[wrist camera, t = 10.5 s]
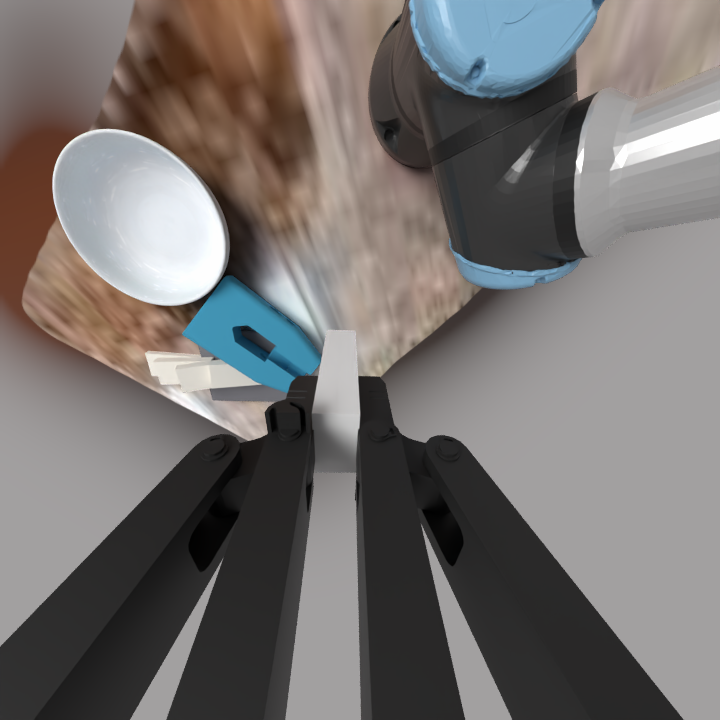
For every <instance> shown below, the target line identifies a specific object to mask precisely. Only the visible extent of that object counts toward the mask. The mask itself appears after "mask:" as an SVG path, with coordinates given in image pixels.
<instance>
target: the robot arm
mask: <svg viewBox="0 0 720 720" xmlns="http://www.w3.org/2000/svg"><path fill="white" fill-rule="evenodd" d="M604 1H605V0H405V4H404V8H403V11H402V14H401V15H399V17H398V18H397V19H396V20H395V21H394V22H393V23H392V25H391V26H390V27H389V29H388V30H387V32H386V34H385V35H384V37H383V39H382V41H381V43H380V45H379V47H378V50H377V53H376V55H375V58H374V62H373V66H372V71H371V76H370V82H369V93H368V101H369V112H370V118H371V122H372V126H373V129H374V131H375V134H376V136H377V138H378V140H379V142H380V144H381V145H382V147H383V148H384V149H385V150H386V152H387V153H388V154H389V155H390V156H391V157H393V158H394V159H395V160H397V161H398V162H400V163H402V164H404V165H407V166H410V167H416V168H424V167H430V166H432V170H433V174H434V178H435V182H436V186H437V190H438V194H439V197H440V201H441V205H442V209H443V213H444V217H445V221H446V225H447V229H448V233H449V236H450V239H449V246H450V249H451V250H452V253H453V254H454V256H455V259H456V262H457V266H458V269H459V271H460V273H461V274H462V276H463V277H464V278H465V279H466V280H467V281H469V282H470V283H472V284H474V285H477V286H480V287H484V288H491V289H521V288H527V287H533V286H534V285H535V283H549V282H552V281H554V280H557V279H559V278H561V277H563V276H565V275H567V274H568V273H570V272H571V271H573V270H574V269H575V268H576V267H577V266H578V264H579V262H580V260H581V259H582V258H585V257H594V256H598V255H600V254H601V253H603V252H604V251H605V250H606V249H607V248H608V247H609V246H611V245H612V244H613V243H614V242H615V241H617V240H618V239H619V238H620V237H622V236H624V235H625V234H627V233H629V232H634V231H640V230H646V229H653V228H659V227H665V226H671V225H678V224H684V223H690V222H696V221H703V220H709V219H714V218H720V65H719V66H717V67H714V68H712V69H710V70H707V71H705V72H703V73H700V74H698V75H696V76H694V77H691V78H689V79H687V80H684V81H682V82H680V83H677V84H675V85H673V86H670V87H668V88H666V89H663V90H661V91H659V92H656V93H654V94H652V95H649V96H647V97H642V98H634V97H632V96H630V95H628V94H626V93H623V92H621V91H619V90H617V89H615V88H613V87H609V88H605V89H603V90H600V91H599V92H597V93H595V94H593V95H591V96H589V97H587V98H584V99H582V100H580V101H578V97H577V93H575V92H577V70H576V51H577V49H578V48H579V47H580V45H581V44H582V43H583V42H584V40H585V38H586V36H587V35H588V33H589V32H590V30H591V29H592V27H593V25H594V24H595V22H596V18H597V12H598V10H599V8H600V6H601V4H602V3H603V2H604ZM574 93H575V94H574ZM572 94H573V95H572ZM486 138H487V139H486ZM484 139H485V140H484ZM482 140H483V141H482ZM480 141H481V142H480ZM478 142H479V143H478ZM453 155H454V156H453ZM265 417H266V424H267V430H268V434H267V435H265V436H263V437H261V438H258V439H255V440H251V441H247V442H243V443H239V441H238V440H237V439H236V437H234V436H231V435H226V434H220V435H216V436H211V437H209V438H207V439H205V440H203V441H201V442H200V443H199V444H197V445H196V446H195V447H194V448H193V449H192V450H191V451H190V452H189V453H188V454H187V455H186V456H185V457H184V458H183V459H182V460H181V461H180V462H179V463H178V464H177V465H176V466H175V467H174V468H173V470H172V471H170V472H169V474H168V475H167V476H166V477H165V478H164V479H163V480H162V481H161V482H160V483H159V484H158V485H157V486H156V487H155V488H154V489H153V490H152V491H151V492H150V493H149V494H148V495H147V496H146V497H145V498H144V499H143V500H142V501H141V502H140V503H139V504H138V505H137V507H135V509H134V510H133V511H132V512H131V513H130V514H129V515H128V516H127V517H126V518H125V519H124V520H123V521H122V522H121V523H120V524H119V525H118V526H117V527H116V528H115V529H114V530H113V531H112V532H111V533H110V534H109V535H108V536H107V537H106V538H105V540H103V542H102V543H101V544H100V545H99V546H98V547H97V548H96V549H95V550H94V551H93V552H92V553H91V554H90V555H89V556H88V557H87V558H86V559H85V560H84V561H83V562H82V563H81V564H80V565H79V566H78V567H77V568H76V569H75V570H74V571H73V572H72V573H71V574H70V576H68V578H67V579H66V580H65V581H64V582H63V583H62V584H61V585H60V586H59V587H58V588H57V589H56V590H55V591H54V592H53V593H52V594H51V595H50V596H49V597H48V598H47V599H46V600H45V601H44V602H43V603H42V604H41V605H40V606H39V607H38V608H37V609H36V611H35V612H34V613H33V614H32V615H31V616H30V617H29V618H28V619H27V620H26V621H25V622H24V623H23V624H22V625H21V626H20V627H19V628H18V629H17V630H16V631H15V632H14V633H13V634H12V635H11V636H10V637H9V638H8V639H7V640H6V641H5V642H4V643H3V644H2V645H1V647H0V720H130V719H131V717H132V715H133V713H134V712H135V710H136V708H137V706H138V705H139V703H140V701H141V699H142V697H143V696H144V694H145V692H146V690H147V689H148V687H149V685H150V684H151V682H152V680H153V679H154V677H155V675H156V673H157V672H158V670H159V668H160V666H161V665H162V663H163V661H164V659H165V658H166V656H167V654H168V653H169V651H170V649H171V647H172V646H173V644H174V642H175V640H176V639H177V637H178V635H179V633H180V632H181V630H182V628H183V626H184V625H185V623H186V621H187V619H188V618H189V616H190V614H191V613H192V611H193V609H194V607H195V606H196V604H197V602H198V600H199V599H200V597H201V595H202V593H203V592H204V590H205V588H206V587H207V585H208V583H209V581H210V580H211V578H212V576H213V574H214V573H215V571H216V569H217V567H218V566H219V564H220V562H221V561H222V559H223V561H222V564H221V567H220V570H219V572H218V575H217V578H216V581H215V584H214V587H213V590H212V593H211V595H210V598H209V601H208V604H207V606H206V609H205V612H204V615H203V618H202V621H201V623H200V626H199V629H198V632H197V635H196V638H195V641H194V643H193V646H192V649H191V652H190V655H189V657H188V660H187V663H186V666H185V668H184V672H183V674H182V677H181V680H180V683H179V686H178V688H177V691H176V694H175V697H174V700H173V702H172V705H171V708H170V711H169V714H168V717H167V720H285V716H286V708H287V700H288V692H289V683H290V675H291V667H292V658H293V651H294V643H295V634H296V626H297V618H298V610H299V601H300V593H301V585H302V577H303V569H304V560H305V552H306V544H307V536H308V528H309V520H310V512H311V503H312V495H313V487H314V486H313V473H314V470H315V472H356V475H357V476H356V493H355V500H356V515H357V558H358V601H359V643H360V686H361V720H465V717H464V713H463V708H462V704H461V699H460V695H459V690H458V687H457V682H456V677H455V673H454V668H453V664H452V660H451V656H450V651H449V647H448V642H447V638H446V633H445V628H444V624H443V620H442V615H441V611H440V606H439V602H438V598H437V593H436V589H435V584H434V580H433V575H432V571H431V567H430V563H429V558H428V554H427V549H426V545H425V540H424V536H423V531H422V527H421V524H422V526H423V528H424V531H425V533H426V535H427V537H428V539H429V541H430V543H431V546H432V548H433V550H434V552H435V554H436V556H437V558H438V561H439V563H440V565H441V567H442V569H443V571H444V574H445V576H446V578H447V580H448V582H449V584H450V586H451V589H452V591H453V593H454V595H455V597H456V599H457V601H458V603H459V606H460V608H461V610H462V612H463V614H464V616H465V619H466V621H467V623H468V625H469V627H470V629H471V632H472V634H473V636H474V638H475V640H476V642H477V644H478V646H479V649H480V651H481V653H482V655H483V657H484V659H485V662H486V664H487V666H488V668H489V670H490V672H491V675H492V677H493V679H494V681H495V683H496V685H497V687H498V690H499V692H500V694H501V696H502V698H503V700H504V702H505V704H506V707H507V709H508V711H509V713H510V715H511V717H512V720H683V718H682V717H681V716H680V715H679V713H678V712H677V711H676V710H675V708H674V707H673V706H672V705H671V704H670V702H669V701H668V700H667V698H666V697H665V696H664V695H663V693H662V692H661V691H660V690H659V688H658V687H657V686H656V685H655V683H654V682H653V681H652V680H651V678H650V677H649V676H648V675H647V673H646V672H645V671H644V670H643V668H642V667H641V666H640V664H639V663H638V662H637V661H636V659H635V658H634V657H633V656H632V654H631V653H630V652H629V651H628V650H627V648H626V647H625V646H624V645H623V643H622V642H621V641H620V639H619V638H618V637H617V636H616V634H615V633H614V632H613V631H612V629H611V628H610V627H609V626H608V624H607V623H606V622H605V621H604V619H603V618H602V617H601V616H600V614H599V613H598V612H597V611H596V609H595V608H594V607H593V606H592V604H591V603H590V602H589V601H588V599H587V598H586V597H585V595H584V594H583V593H582V592H581V590H580V589H579V588H578V587H577V585H576V584H575V583H574V582H573V580H572V579H571V578H570V577H569V575H568V574H567V573H566V572H565V570H564V569H563V568H562V567H561V565H560V564H559V563H558V562H557V560H556V559H555V558H554V557H553V555H552V554H551V553H550V552H549V550H548V549H547V548H546V547H545V545H544V544H543V543H542V541H541V540H540V539H539V538H538V536H537V535H536V534H535V533H534V531H533V530H532V529H531V528H530V526H529V525H528V524H527V523H526V521H525V520H524V519H523V518H522V516H521V515H520V514H519V513H518V511H517V510H516V509H515V508H514V506H513V505H512V504H511V503H510V501H509V500H508V499H507V498H506V496H505V495H504V494H503V493H502V491H501V490H500V489H499V488H498V486H497V485H496V484H495V482H494V481H493V480H492V479H491V478H490V476H489V475H488V474H487V473H486V471H485V470H484V469H483V467H482V466H481V465H480V464H479V463H478V461H477V460H476V459H475V457H474V456H473V455H472V454H471V452H470V451H469V450H468V449H467V447H466V446H464V445H463V444H462V443H461V442H460V441H458V440H456V439H455V438H452V437H449V436H445V435H440V436H439V435H438V436H434V437H431V438H430V439H429V440H428V441H427V442H426V443H423V442H419V441H415V440H412V439H409V438H407V437H405V436H404V435H402V434H401V433H400V432H399V430H398V428H397V427H396V426H395V425H394V422H393V418H392V413H391V409H390V403H389V399H388V394H387V389H386V384H385V383H384V381H383V380H382V379H381V378H380V377H371V376H358V367H357V349H356V332H355V331H352V330H327V331H326V336H325V342H324V347H323V353H322V359H321V364H320V370H319V375H318V376H297V377H296V378H295V379H294V380H293V381H292V382H291V384H290V387H289V390H288V393H287V396H286V399H285V400H281V401H278V402H275V403H274V404H272V405H271V406H269V407H268V408H267V410H266V411H265ZM224 555H225V556H224ZM223 557H224V558H223Z"/></svg>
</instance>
